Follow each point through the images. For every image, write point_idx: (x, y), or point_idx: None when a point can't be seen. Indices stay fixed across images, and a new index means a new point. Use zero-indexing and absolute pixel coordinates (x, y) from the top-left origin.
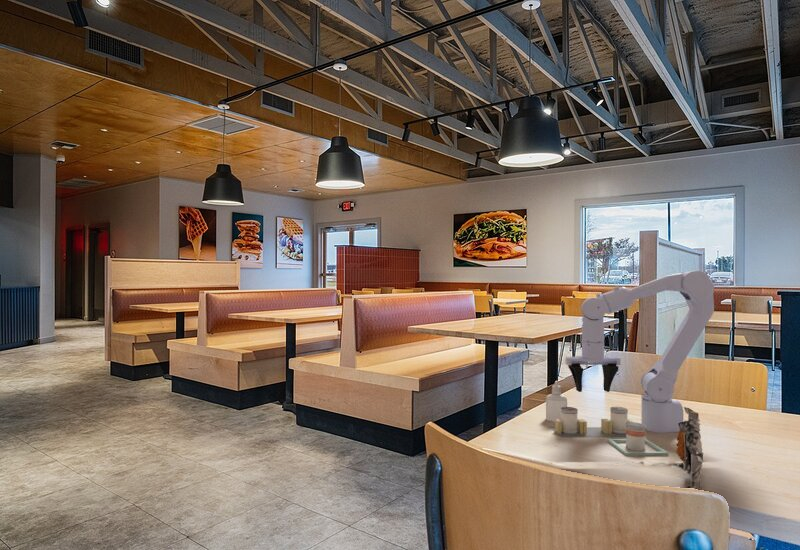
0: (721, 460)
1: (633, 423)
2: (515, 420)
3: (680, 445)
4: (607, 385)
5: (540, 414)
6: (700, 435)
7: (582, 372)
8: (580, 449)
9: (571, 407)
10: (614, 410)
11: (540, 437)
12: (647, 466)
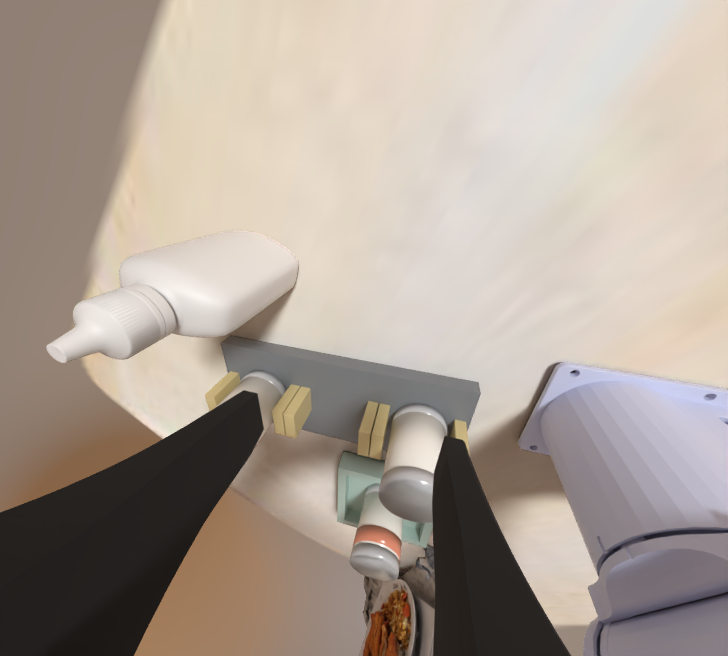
0: (549, 563)
1: (373, 563)
2: (118, 187)
3: (374, 640)
4: (434, 525)
5: (214, 71)
6: None
7: (149, 618)
8: (277, 445)
9: None
10: (383, 502)
11: (201, 366)
12: None
